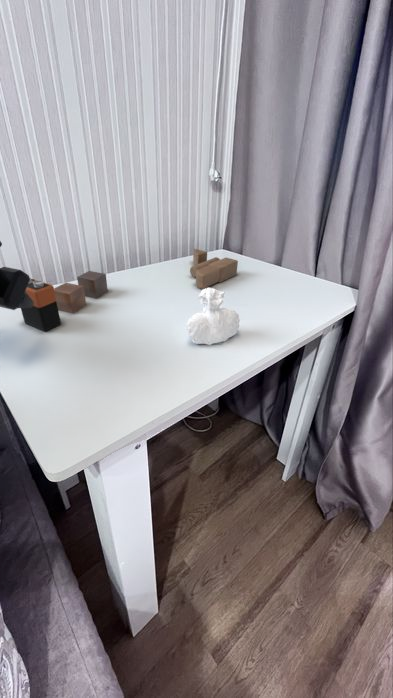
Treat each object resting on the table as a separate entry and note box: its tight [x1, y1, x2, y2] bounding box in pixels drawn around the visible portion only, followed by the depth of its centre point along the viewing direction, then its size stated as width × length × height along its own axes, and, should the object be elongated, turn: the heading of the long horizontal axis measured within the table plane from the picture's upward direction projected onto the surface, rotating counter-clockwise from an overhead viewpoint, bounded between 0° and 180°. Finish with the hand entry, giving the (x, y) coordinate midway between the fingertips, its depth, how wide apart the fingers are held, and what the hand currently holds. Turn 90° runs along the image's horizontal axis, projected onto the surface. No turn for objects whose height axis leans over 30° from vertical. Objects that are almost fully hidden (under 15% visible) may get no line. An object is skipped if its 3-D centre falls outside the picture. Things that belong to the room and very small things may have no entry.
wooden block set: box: [189, 248, 239, 290], centre depth 99 cm, size 17×6×18 cm
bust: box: [185, 287, 241, 346], centre depth 68 cm, size 12×8×11 cm
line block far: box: [76, 270, 109, 300], centre depth 84 cm, size 5×5×5 cm
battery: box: [20, 277, 62, 332], centre depth 68 cm, size 4×7×10 cm, turn 60°
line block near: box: [54, 282, 87, 315], centre depth 77 cm, size 5×5×5 cm
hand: (13, 300), depth 62 cm, fingers open, 9 cm apart
